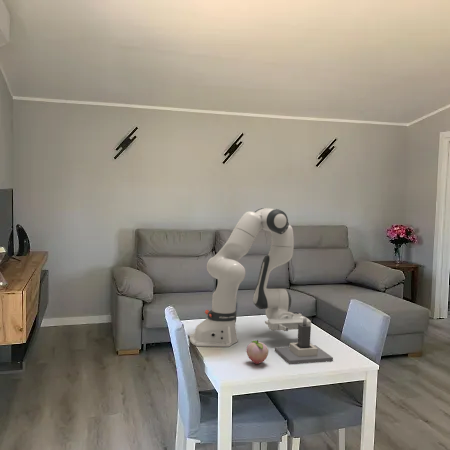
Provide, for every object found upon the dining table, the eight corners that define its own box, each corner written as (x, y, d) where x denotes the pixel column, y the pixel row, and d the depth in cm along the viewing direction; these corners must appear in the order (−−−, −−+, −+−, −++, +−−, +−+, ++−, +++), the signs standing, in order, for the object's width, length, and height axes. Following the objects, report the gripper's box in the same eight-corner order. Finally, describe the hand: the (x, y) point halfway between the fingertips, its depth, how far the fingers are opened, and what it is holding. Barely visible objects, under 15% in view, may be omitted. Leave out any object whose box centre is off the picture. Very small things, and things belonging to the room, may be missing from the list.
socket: (289, 364, 192) (289, 353, 192) (274, 350, 207) (275, 341, 207) (332, 361, 198) (333, 350, 197) (315, 348, 213) (315, 338, 213)
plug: (300, 354, 200) (302, 320, 199) (296, 351, 204) (298, 317, 203) (309, 353, 201) (311, 319, 200) (305, 350, 205) (307, 317, 204)
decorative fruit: (272, 365, 190) (273, 341, 189) (256, 369, 185) (257, 344, 184) (258, 358, 198) (259, 335, 197) (242, 361, 193) (243, 337, 192)
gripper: (263, 314, 220) (274, 323, 206) (303, 313, 225) (316, 321, 212) (263, 327, 220) (274, 337, 207) (302, 325, 226) (316, 334, 213)
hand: (296, 329), depth 210 cm, fingers open, 8 cm apart
